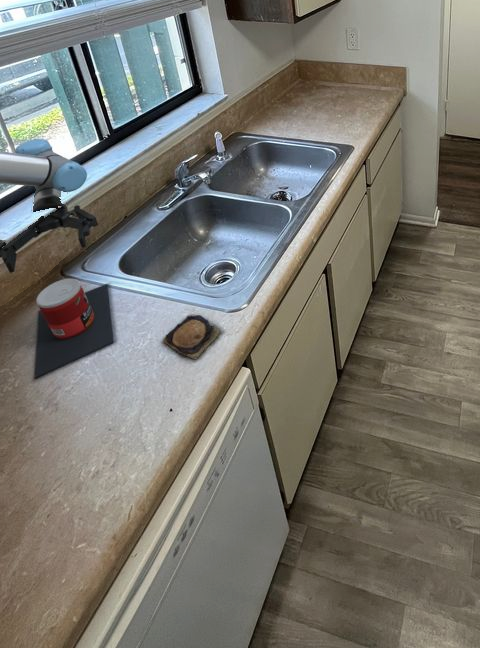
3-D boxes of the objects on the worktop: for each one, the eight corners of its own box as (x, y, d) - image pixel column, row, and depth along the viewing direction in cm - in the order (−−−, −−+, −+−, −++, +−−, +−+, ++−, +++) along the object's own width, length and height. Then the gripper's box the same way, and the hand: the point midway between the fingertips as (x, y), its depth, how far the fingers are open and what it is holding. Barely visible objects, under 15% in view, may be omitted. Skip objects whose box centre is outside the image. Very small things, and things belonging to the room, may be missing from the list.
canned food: (95, 328, 101) (79, 294, 96) (53, 346, 97) (34, 312, 92) (94, 305, 106) (79, 272, 102) (54, 322, 102) (36, 288, 98)
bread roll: (224, 331, 100) (221, 320, 99) (193, 363, 94) (190, 351, 92) (192, 314, 105) (188, 303, 103) (160, 343, 98) (156, 331, 96)
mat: (35, 378, 91) (34, 377, 91) (40, 312, 106) (39, 310, 105) (113, 342, 98) (113, 341, 98) (107, 285, 113) (106, 283, 113)
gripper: (108, 202, 126) (113, 245, 110) (-5, 237, 113) (-17, 291, 97) (100, 181, 122) (105, 221, 107) (-17, 214, 109) (-31, 266, 94)
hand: (47, 255), depth 102 cm, fingers open, 13 cm apart
